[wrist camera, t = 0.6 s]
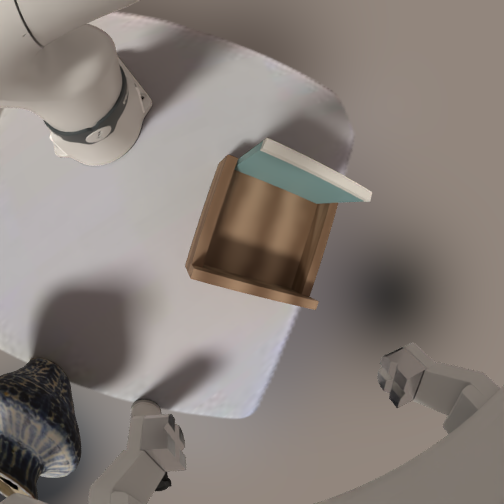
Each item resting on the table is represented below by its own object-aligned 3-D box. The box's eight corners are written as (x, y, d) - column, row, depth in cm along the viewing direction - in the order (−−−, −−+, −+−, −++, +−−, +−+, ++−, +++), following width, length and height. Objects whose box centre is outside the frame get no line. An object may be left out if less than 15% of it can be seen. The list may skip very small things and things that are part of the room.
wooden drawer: (185, 265, 44) (190, 278, 35) (218, 163, 44) (233, 149, 35) (288, 293, 51) (315, 309, 42) (317, 203, 51) (349, 201, 41)
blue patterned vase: (47, 319, 37) (-37, 416, 9) (113, 395, 42) (100, 522, 14) (-1, 364, 33) (-63, 446, 5) (58, 427, 39) (33, 526, 10)
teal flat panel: (231, 169, 42) (263, 148, 28) (234, 161, 42) (266, 137, 28) (316, 204, 47) (370, 201, 34) (318, 197, 47) (372, 192, 34)
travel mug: (165, 419, 46) (176, 492, 27) (135, 421, 44) (136, 494, 25) (158, 397, 45) (165, 473, 27) (127, 399, 43) (122, 474, 25)
